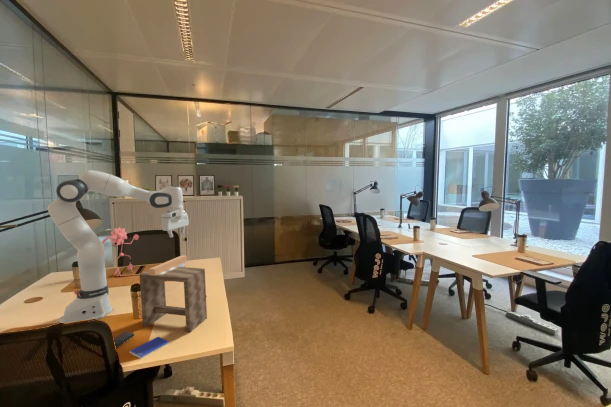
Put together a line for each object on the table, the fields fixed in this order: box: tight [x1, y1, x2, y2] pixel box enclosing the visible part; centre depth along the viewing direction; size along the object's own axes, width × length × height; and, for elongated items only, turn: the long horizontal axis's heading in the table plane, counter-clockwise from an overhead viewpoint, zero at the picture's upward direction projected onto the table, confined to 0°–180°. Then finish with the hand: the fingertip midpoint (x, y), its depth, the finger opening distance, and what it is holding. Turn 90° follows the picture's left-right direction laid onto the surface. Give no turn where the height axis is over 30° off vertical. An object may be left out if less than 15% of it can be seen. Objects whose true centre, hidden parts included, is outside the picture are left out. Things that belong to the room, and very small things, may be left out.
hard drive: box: [129, 336, 170, 360], centre depth 125 cm, size 2×8×12 cm
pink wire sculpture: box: [101, 226, 140, 277], centre depth 221 cm, size 15×26×35 cm, turn 152°
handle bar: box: [148, 255, 188, 276], centre depth 149 cm, size 24×3×3 cm, turn 167°
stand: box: [139, 266, 208, 333], centre depth 145 cm, size 14×26×26 cm, turn 77°
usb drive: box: [113, 331, 135, 349], centre depth 129 cm, size 5×12×3 cm, turn 170°
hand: (176, 235), depth 176 cm, fingers open, 8 cm apart
